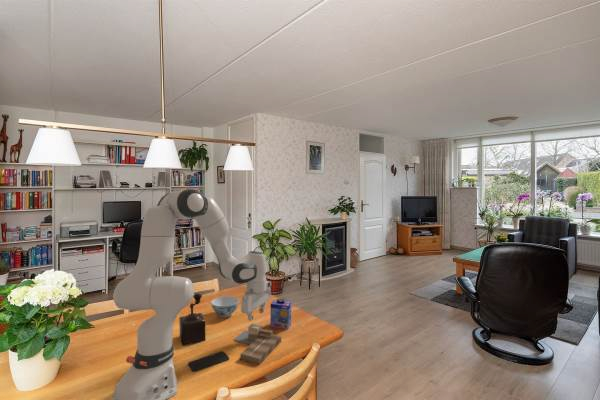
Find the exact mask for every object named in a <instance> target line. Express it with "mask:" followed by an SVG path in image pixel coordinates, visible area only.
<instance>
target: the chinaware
mask: <svg viewBox="0 0 600 400" xmlns="http://www.w3.org/2000/svg"><path fill="white" fill-rule="evenodd" d="M210 304H211V307H212V310H213V311H214V312H215V313H216V314H217V315H218V316H219V317H220V318H228V317H231V316H232V315H233V313H235V311H237V308H238V306H239V304H240V298H238V297H236V296H230V295H226V296H225V295H224V296H218V297H216V298H214V299H212V300H211V303H210Z"/></svg>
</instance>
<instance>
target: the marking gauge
mask: <svg viewBox="0 0 600 400" xmlns="http://www.w3.org/2000/svg"><path fill="white" fill-rule="evenodd" d="M247 328H248V330H247V331H248V339H249V340H253V341H255V340H256V339H257V338H258V337H260V336H261V335H262V334H263V335H268V336H271V335H272V334H273V330H270V329H265V328H263V325H262V324H260V323H254V322H253V323H251V324H250V325H248V327H247Z"/></svg>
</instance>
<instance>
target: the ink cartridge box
mask: <svg viewBox="0 0 600 400" xmlns="http://www.w3.org/2000/svg"><path fill="white" fill-rule="evenodd" d="M291 326H292V302H291V301H285V300H284V299H280V298H276V300H274V299H273V300H272V302H270V326H269V327H271V328H276V329H285V330H289V329H290V328H291Z"/></svg>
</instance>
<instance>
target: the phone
mask: <svg viewBox="0 0 600 400" xmlns="http://www.w3.org/2000/svg"><path fill="white" fill-rule="evenodd" d="M228 361H230V357H229V356H228V354H226V352H225V351H222V350H221V351H218V352H216V353H212V354H209V355H206V356H203V357H200V358H196V359H194V360H191V361H188V363H187V365H188V367H189V368H190V371H191V372H193V373H195V372H199V371H201V370H205V369H208V368H210V367H213V366H215V365H219V364H222V363H225V362H228Z"/></svg>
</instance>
